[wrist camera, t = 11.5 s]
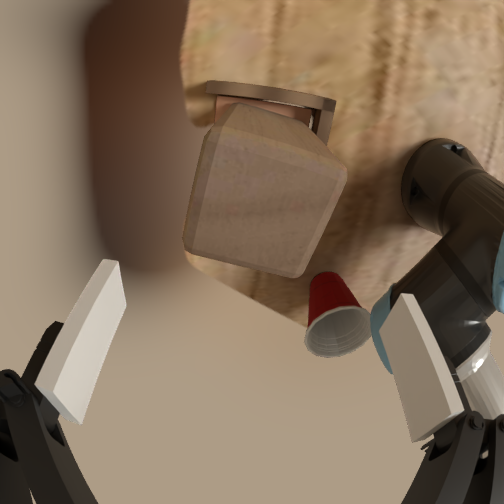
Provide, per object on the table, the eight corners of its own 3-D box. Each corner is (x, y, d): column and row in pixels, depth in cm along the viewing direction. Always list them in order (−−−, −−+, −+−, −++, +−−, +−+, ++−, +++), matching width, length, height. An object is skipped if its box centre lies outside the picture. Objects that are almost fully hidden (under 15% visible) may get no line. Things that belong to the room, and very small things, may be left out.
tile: (311, 109, 33) (312, 109, 33) (294, 192, 40) (294, 193, 40) (217, 95, 32) (217, 95, 32) (208, 181, 39) (208, 181, 39)
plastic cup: (368, 276, 48) (389, 326, 39) (327, 313, 54) (339, 364, 44) (325, 247, 45) (342, 299, 35) (283, 289, 50) (289, 344, 40)
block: (283, 189, 40) (302, 285, 23) (212, 170, 38) (177, 255, 22) (307, 122, 34) (356, 172, 18) (231, 99, 33) (205, 124, 16)
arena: (329, 98, 32) (336, 100, 29) (306, 200, 41) (310, 211, 38) (211, 80, 31) (207, 80, 28) (201, 186, 40) (196, 196, 37)
